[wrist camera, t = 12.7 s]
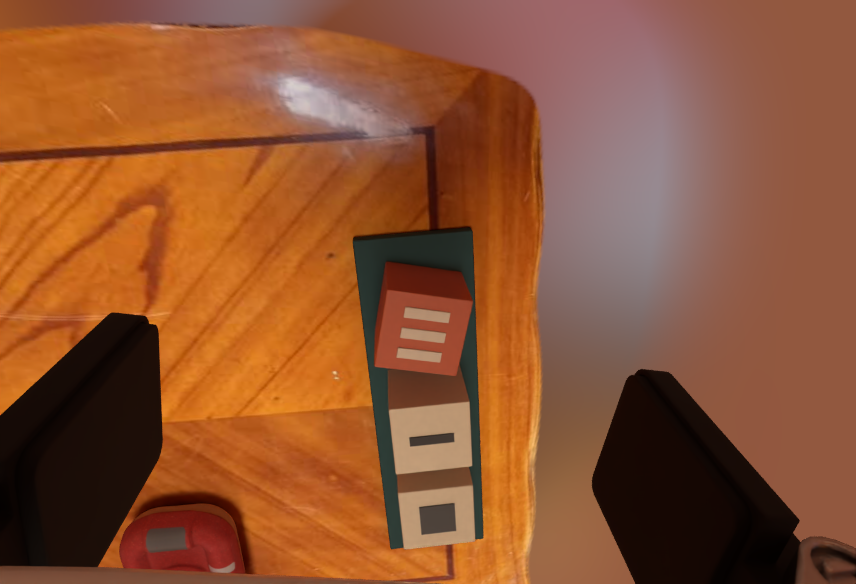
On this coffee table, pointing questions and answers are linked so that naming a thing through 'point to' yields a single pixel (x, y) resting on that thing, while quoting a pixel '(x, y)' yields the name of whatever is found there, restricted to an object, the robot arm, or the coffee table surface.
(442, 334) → the red striped block
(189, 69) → the coffee table surface
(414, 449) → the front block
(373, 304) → the board
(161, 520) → the toy boat
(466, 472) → the block
